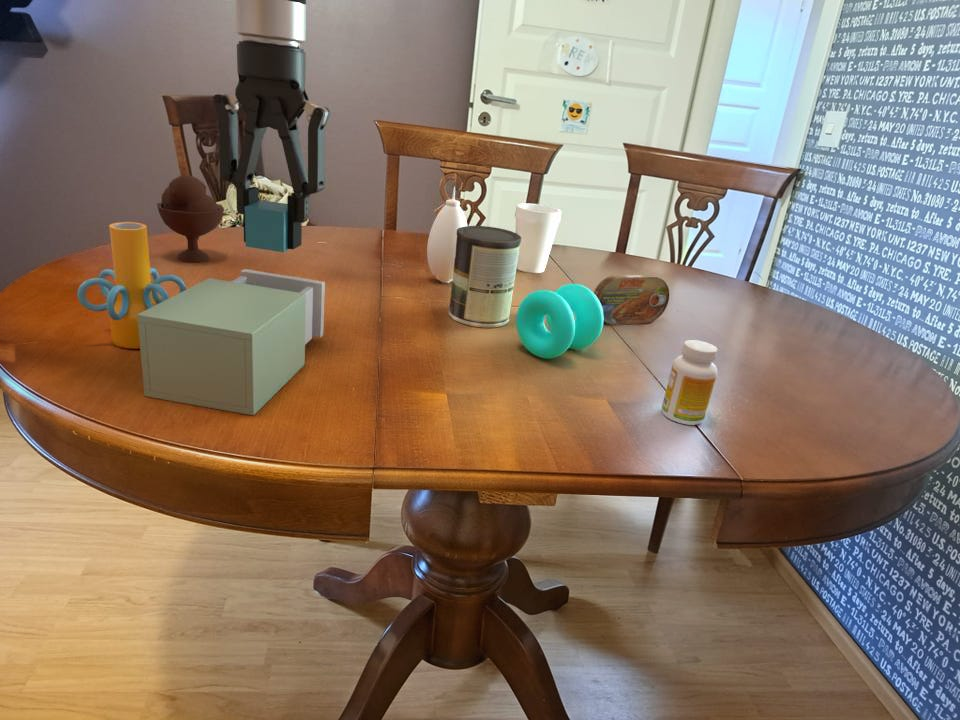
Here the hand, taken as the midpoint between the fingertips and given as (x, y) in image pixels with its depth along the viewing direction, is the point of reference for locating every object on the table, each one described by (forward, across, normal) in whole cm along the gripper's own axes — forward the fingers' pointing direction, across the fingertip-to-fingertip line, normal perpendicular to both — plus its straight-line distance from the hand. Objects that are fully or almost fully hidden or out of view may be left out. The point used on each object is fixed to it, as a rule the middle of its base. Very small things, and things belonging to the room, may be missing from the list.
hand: (273, 243), depth 84 cm
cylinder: (+14, +16, +6) cm, 22 cm away
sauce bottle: (+14, -16, -41) cm, 46 cm away
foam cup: (+14, -31, -60) cm, 69 cm away
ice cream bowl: (+14, +29, -31) cm, 45 cm away
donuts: (+14, -38, -14) cm, 43 cm away
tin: (+14, -50, -34) cm, 62 cm away
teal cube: (0, 0, 0) cm, 0 cm away
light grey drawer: (+13, 0, 0) cm, 13 cm away
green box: (+14, 0, +12) cm, 18 cm away
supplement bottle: (+14, -55, +1) cm, 57 cm away
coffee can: (+14, -25, -24) cm, 38 cm away
